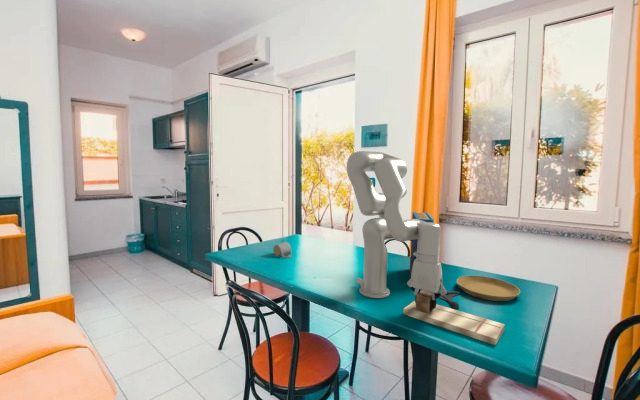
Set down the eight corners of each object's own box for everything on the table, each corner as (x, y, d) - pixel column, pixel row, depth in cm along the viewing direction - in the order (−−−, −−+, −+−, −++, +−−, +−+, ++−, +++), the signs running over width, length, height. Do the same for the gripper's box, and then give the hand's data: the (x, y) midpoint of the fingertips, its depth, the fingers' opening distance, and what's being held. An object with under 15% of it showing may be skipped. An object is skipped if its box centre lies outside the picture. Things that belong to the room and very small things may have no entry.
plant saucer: (510, 285, 146) (511, 278, 146) (528, 307, 123) (528, 299, 123) (453, 279, 153) (453, 272, 153) (459, 299, 130) (460, 291, 130)
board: (403, 314, 116) (403, 308, 116) (417, 303, 125) (417, 298, 125) (495, 345, 96) (496, 338, 96) (504, 330, 105) (504, 324, 105)
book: (434, 288, 141) (438, 220, 138) (413, 286, 143) (417, 219, 140) (427, 270, 165) (430, 212, 162) (409, 269, 166) (412, 211, 163)
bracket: (438, 311, 120) (438, 303, 120) (423, 294, 135) (424, 288, 135) (475, 311, 121) (476, 303, 121) (457, 294, 136) (457, 288, 135)
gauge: (415, 309, 115) (416, 294, 114) (426, 301, 122) (427, 287, 121) (427, 313, 112) (428, 297, 111) (437, 304, 119) (438, 290, 118)
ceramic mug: (272, 255, 187) (272, 242, 186) (283, 253, 193) (283, 240, 192) (284, 259, 180) (284, 246, 179) (294, 257, 186) (295, 244, 185)
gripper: (400, 255, 116) (398, 303, 118) (448, 265, 105) (445, 318, 107) (410, 251, 122) (408, 297, 124) (456, 260, 111) (452, 310, 113)
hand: (425, 306), depth 115 cm, fingers closed on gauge, 4 cm apart
